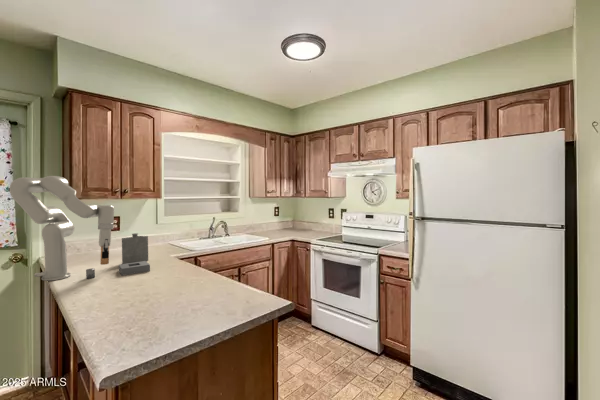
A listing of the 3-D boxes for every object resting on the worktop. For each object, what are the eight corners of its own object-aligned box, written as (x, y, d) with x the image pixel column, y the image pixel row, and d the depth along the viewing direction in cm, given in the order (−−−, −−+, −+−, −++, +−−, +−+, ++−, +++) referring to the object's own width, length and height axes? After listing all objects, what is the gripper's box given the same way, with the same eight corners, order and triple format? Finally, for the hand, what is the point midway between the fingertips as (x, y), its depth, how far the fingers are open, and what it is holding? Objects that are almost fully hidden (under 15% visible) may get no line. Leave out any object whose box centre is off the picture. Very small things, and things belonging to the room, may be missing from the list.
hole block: (121, 275, 169) (121, 268, 169) (118, 271, 179) (118, 264, 178) (150, 270, 179) (149, 264, 179) (145, 267, 188) (145, 260, 188)
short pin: (86, 279, 162) (86, 270, 162) (86, 277, 165) (85, 269, 165) (95, 278, 164) (94, 269, 164) (94, 276, 168) (94, 268, 167)
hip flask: (122, 264, 195) (121, 234, 194) (121, 263, 198) (121, 234, 197) (148, 260, 204) (148, 232, 204) (147, 259, 208) (147, 232, 207)
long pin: (100, 264, 167) (101, 244, 166) (100, 263, 170) (100, 243, 169) (109, 264, 169) (109, 243, 169) (108, 262, 172) (108, 242, 172)
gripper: (96, 224, 173) (95, 255, 173) (99, 228, 160) (98, 261, 160) (111, 224, 178) (110, 254, 178) (115, 227, 165) (114, 259, 165)
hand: (104, 257), depth 169 cm, fingers closed on long pin, 4 cm apart
